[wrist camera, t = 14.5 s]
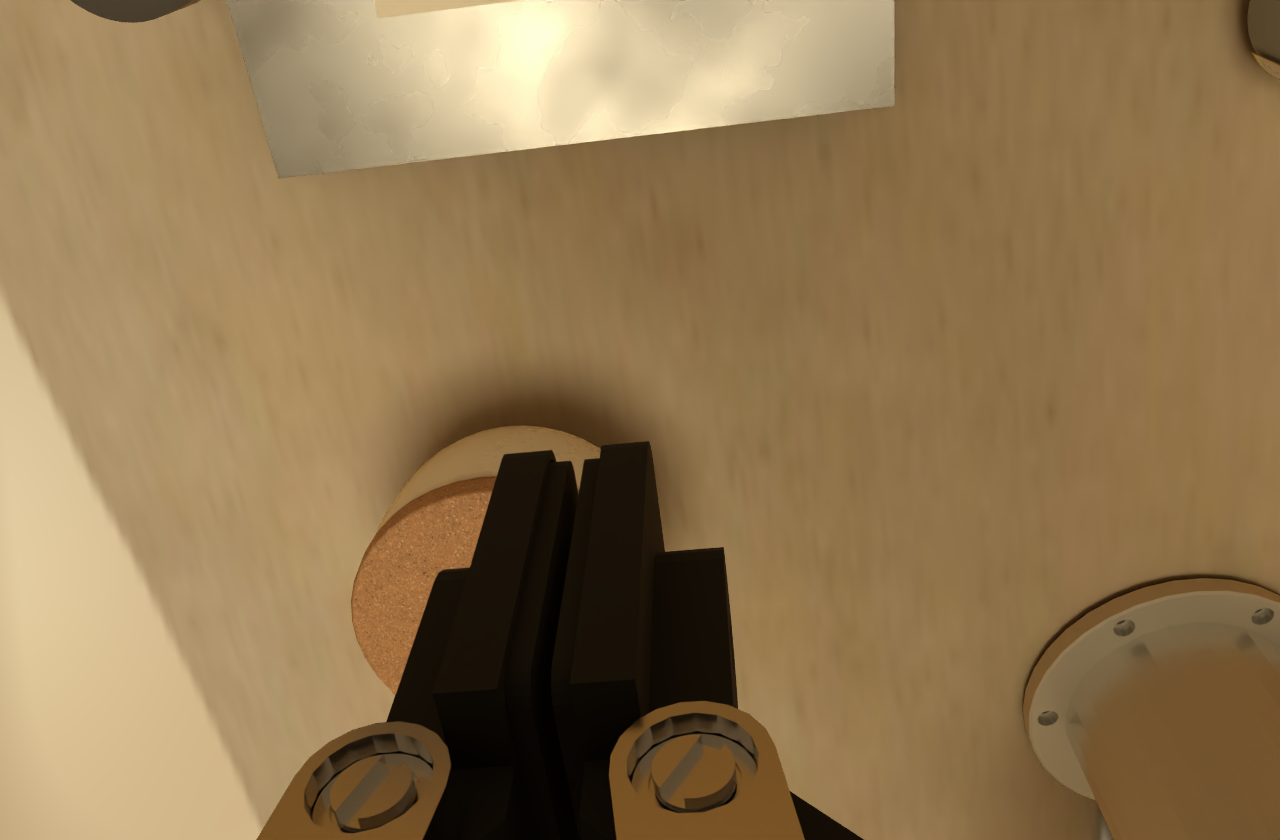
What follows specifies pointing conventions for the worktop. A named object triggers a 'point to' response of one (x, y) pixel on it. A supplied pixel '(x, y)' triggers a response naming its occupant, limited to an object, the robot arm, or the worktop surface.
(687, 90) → the plate
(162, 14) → the cable arm
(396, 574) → the lidded jar
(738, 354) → the worktop surface
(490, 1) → the label
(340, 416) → the worktop surface
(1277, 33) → the reed diffuser
